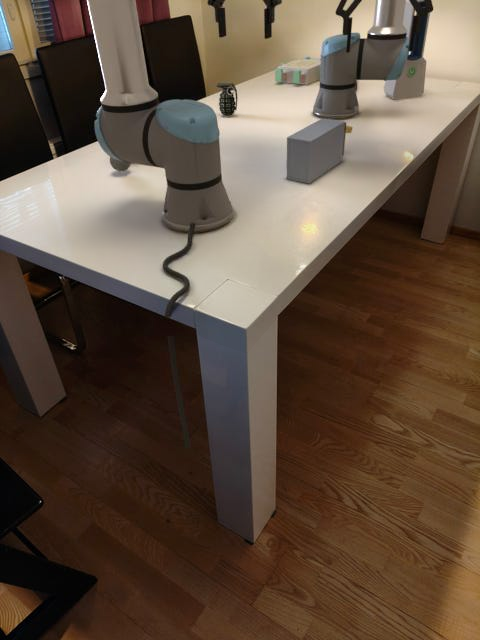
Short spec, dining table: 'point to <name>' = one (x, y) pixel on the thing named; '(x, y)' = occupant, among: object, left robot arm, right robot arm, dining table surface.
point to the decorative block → (299, 71)
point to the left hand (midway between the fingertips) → (245, 37)
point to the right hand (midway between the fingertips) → (378, 51)
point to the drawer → (346, 130)
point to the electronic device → (411, 60)
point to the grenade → (227, 99)
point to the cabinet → (314, 150)
